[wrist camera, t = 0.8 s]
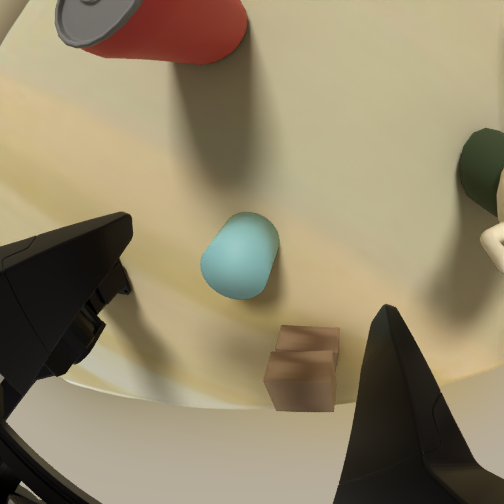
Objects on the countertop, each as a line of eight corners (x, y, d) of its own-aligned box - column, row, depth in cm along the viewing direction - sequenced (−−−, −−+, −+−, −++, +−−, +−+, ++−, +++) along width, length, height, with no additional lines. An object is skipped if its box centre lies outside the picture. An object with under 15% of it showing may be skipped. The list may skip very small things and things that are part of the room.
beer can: (202, -20, 13) (100, -75, 4) (268, 16, 15) (198, -56, 5) (153, 41, 17) (32, 34, 7) (212, 81, 18) (99, 84, 8)
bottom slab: (284, 358, 32) (279, 382, 29) (281, 323, 29) (275, 348, 26) (335, 361, 30) (333, 386, 28) (339, 326, 27) (338, 352, 25)
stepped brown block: (282, 384, 29) (276, 410, 26) (271, 351, 27) (263, 380, 24) (336, 384, 27) (333, 411, 24) (332, 350, 25) (330, 380, 22)
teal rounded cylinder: (227, 262, 26) (208, 297, 22) (218, 212, 24) (193, 241, 20) (281, 264, 25) (270, 301, 21) (276, 211, 23) (263, 242, 18)
